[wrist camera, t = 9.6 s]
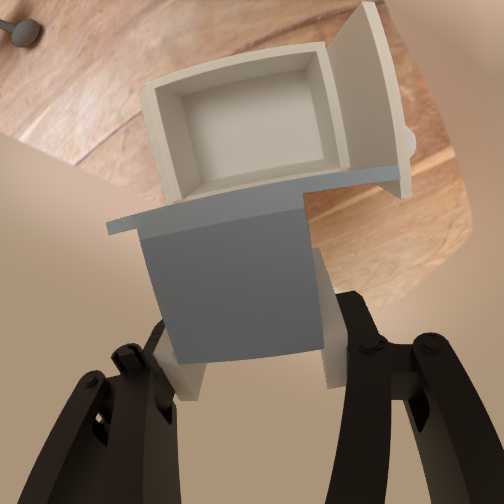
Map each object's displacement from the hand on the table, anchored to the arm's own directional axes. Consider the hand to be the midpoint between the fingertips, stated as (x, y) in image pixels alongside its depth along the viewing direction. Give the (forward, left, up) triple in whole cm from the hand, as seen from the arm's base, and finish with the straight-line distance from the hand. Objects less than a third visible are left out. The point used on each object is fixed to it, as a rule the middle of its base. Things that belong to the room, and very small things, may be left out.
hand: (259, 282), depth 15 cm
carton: (-9, 0, -25) cm, 26 cm away
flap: (-4, 0, -4) cm, 6 cm away
